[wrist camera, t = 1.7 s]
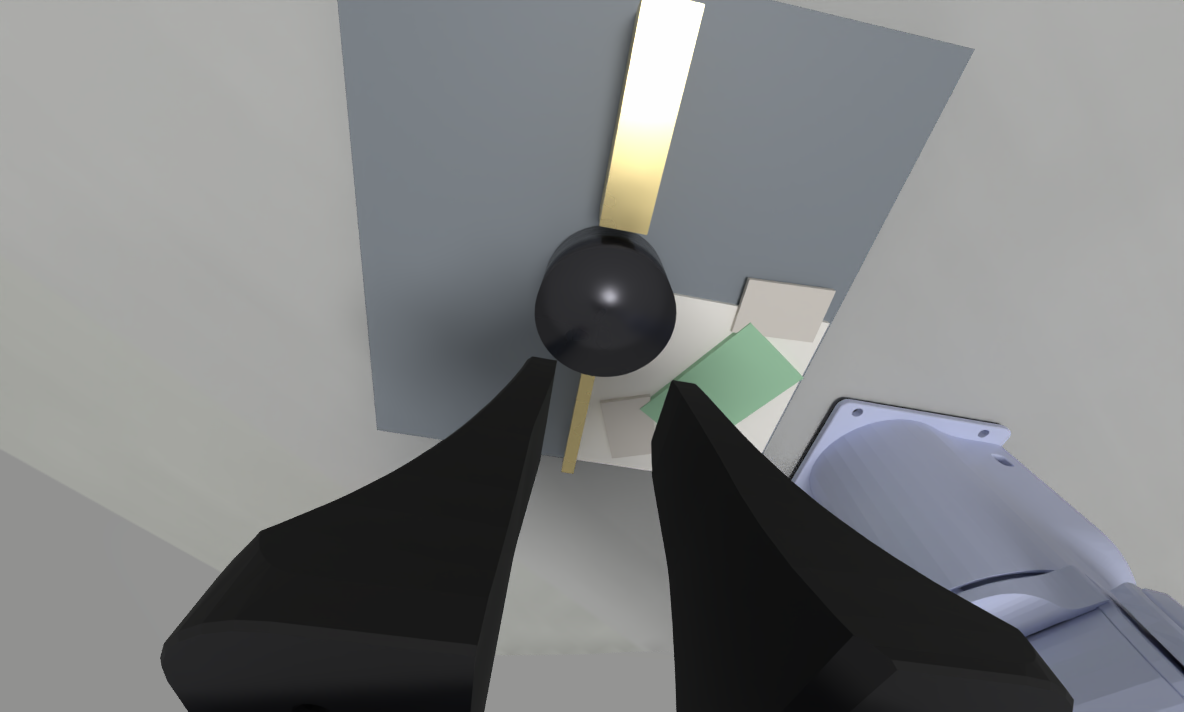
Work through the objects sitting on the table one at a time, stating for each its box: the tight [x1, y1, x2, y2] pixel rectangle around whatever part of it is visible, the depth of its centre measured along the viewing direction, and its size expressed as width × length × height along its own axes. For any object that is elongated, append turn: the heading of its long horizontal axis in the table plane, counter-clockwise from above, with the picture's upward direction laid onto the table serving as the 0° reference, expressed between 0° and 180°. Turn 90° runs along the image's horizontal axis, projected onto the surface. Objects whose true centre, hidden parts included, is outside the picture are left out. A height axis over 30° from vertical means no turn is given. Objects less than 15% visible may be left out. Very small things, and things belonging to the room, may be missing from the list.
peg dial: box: [534, 0, 705, 474], centre depth 16 cm, size 5×18×3 cm, turn 170°
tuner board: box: [337, 0, 975, 471], centre depth 18 cm, size 20×20×2 cm
